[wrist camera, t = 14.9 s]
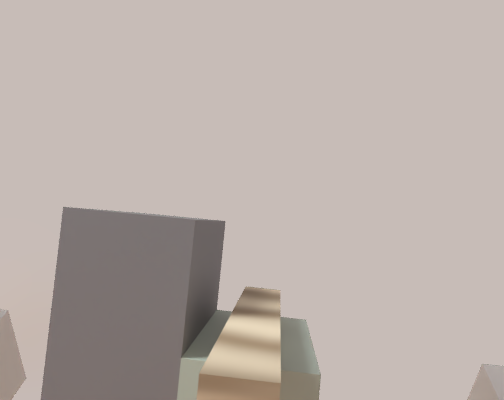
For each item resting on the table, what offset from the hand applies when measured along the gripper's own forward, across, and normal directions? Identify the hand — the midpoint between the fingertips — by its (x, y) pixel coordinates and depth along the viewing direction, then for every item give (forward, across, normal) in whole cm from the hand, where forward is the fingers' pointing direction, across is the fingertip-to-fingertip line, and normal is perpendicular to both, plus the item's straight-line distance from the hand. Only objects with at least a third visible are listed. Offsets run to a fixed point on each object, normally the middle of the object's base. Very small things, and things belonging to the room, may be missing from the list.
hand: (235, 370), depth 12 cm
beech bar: (+11, 0, -11) cm, 15 cm away
